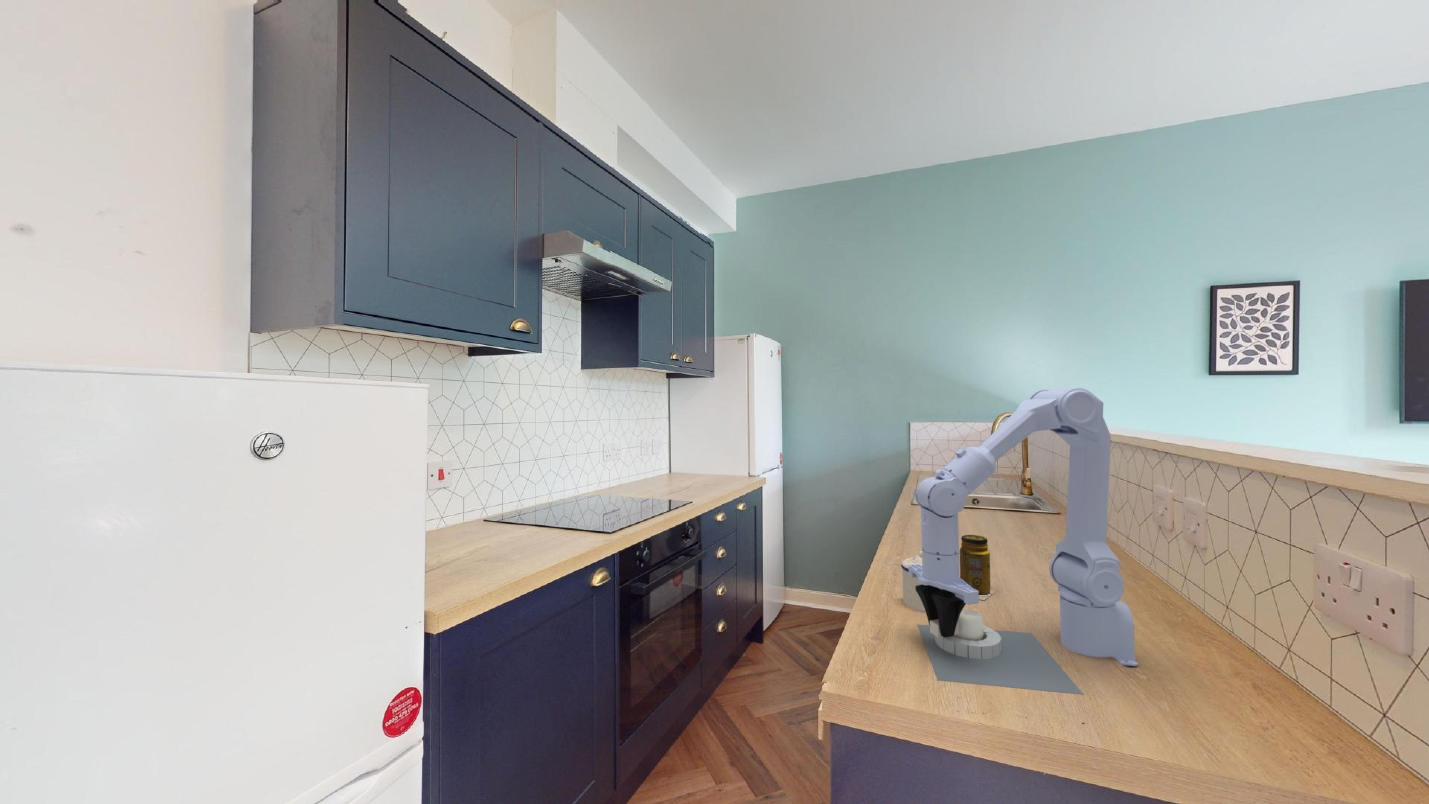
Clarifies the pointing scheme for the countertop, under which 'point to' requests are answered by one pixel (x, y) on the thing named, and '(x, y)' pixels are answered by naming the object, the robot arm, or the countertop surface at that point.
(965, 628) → the cream post on cylinder
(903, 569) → the teacup with lid
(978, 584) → the condiment
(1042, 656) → the stand
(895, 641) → the countertop surface
